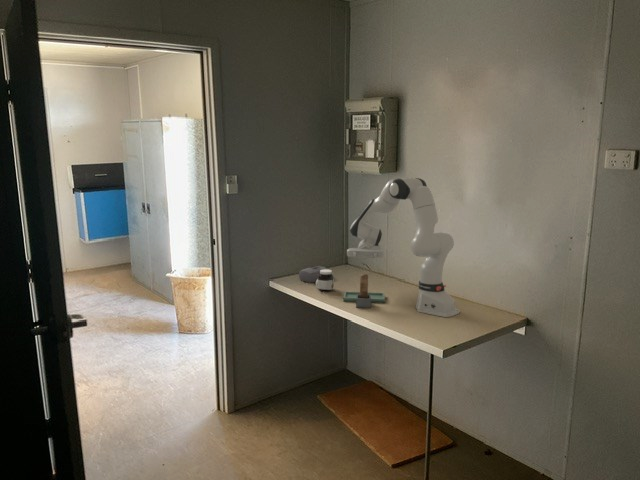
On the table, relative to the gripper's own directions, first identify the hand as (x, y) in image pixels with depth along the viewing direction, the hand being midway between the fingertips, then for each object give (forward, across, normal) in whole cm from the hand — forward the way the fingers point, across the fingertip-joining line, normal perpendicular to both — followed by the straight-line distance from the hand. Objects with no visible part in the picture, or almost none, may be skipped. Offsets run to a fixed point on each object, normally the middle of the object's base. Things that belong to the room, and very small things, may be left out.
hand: (364, 256), depth 274 cm
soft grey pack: (-38, -31, +25) cm, 55 cm away
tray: (0, 0, +24) cm, 24 cm away
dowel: (+12, 0, +23) cm, 26 cm away
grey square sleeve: (+12, 0, +24) cm, 27 cm away
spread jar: (-16, -24, +24) cm, 37 cm away
